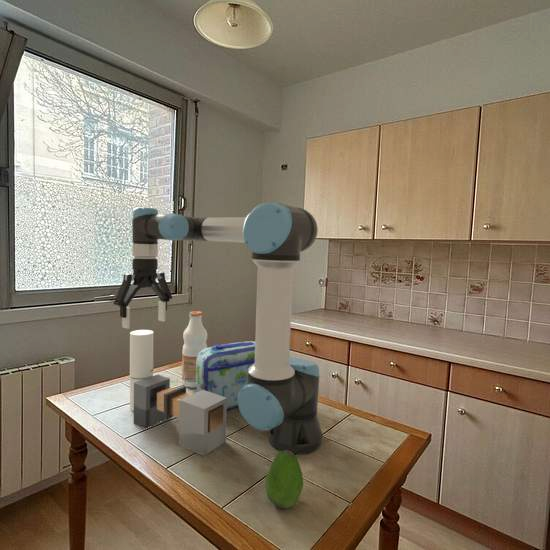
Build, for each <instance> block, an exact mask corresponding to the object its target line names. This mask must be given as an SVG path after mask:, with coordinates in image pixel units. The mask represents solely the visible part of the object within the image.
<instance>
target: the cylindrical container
mask: <svg viewBox="0 0 550 550" xmlns="http://www.w3.org/2000/svg"><path fill="white" fill-rule="evenodd" d="M152 376H154V330H151V329H137V330H132V331H130V332H129V410H130V411H131V412H134V383H135V382H137V381H140V380H143V379H146V378H149V377H152Z"/></svg>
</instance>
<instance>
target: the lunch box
mask: <svg viewBox="0 0 550 550" xmlns="http://www.w3.org/2000/svg"><path fill="white" fill-rule="evenodd" d="M254 362H255V340H254V341H249V340H247V341H239V342H231V343H225V344H214V346H209V347H207V348H205V349H203V350H202V351H201V352H200V353H199V354H198V356H197V360H196V388H195V389H196V392H195V393H197V392H199V391H201V390H205V391H208V392H211V393H214V394H217V395H220V396H223V397H226V398H227V410H229V409H234V408H236V407H239V406H238V395H239V392H240V390H241V389H242V388H243V387H244V386H245V385H247V384H248V369H249V367H250V366H252V365H253V364H254Z"/></svg>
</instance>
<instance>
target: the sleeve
mask: <svg viewBox="0 0 550 550" xmlns="http://www.w3.org/2000/svg"><path fill="white" fill-rule="evenodd" d="M220 405H221V406H224V409H223V424H222V425H221V426H219V427H217V428H216V429H214V430H212V431H211V432H210V431H208V412H209V411H211V410H212V409H214V408H216V407H218V406H220ZM227 410H228V409H227V398H226V397H223V396H220V395H217V394H214V393H211V392H208V391H205V390H201V391H199V392H197V393H196V392H195V393H192V394H190V396H188V397H185V398H183V399H181V400H180V413H179V418H178V420H179V421H178V422H179V427H178V445H179V446H181V447H183V448H185V449H187V450H189V451H191V452H193V453H195V454H198V455H200V456H202V457H204V456H206V455H209V453H211V452H212V451H214V450H216V449H217V448H218V447H220V446H222V445H224V443H226V442H227V438H226V437H227V413H228V412H227ZM225 441H226V442H225Z"/></svg>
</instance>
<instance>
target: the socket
mask: <svg viewBox="0 0 550 550" xmlns="http://www.w3.org/2000/svg"><path fill="white" fill-rule="evenodd" d="M170 382H171V380H170V378H169V377H166V376H164V375H160V374H155V375H153V376H152V377H149V378H146V379H143V380H140V381H137V382H135V383H134V411H133V424H134V425H135V426H138V427H140V428H142V427H143V428H142V429H144V428H145V430H147V429H149V428H151V427H153V426H155V425H157V424H159V423H161V422H160V421H162V422H163V420H164V421H166V420H165V419H164V412H162V411H160V410H157V392H160V391H163V390H165V389H168V388H170V384H171V383H170ZM158 422H159V423H158ZM154 424H155V425H154ZM150 426H151V427H150ZM148 427H149V428H148ZM146 428H147V429H146Z"/></svg>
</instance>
